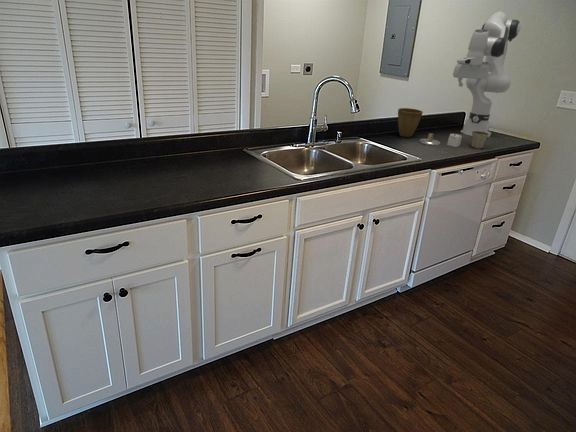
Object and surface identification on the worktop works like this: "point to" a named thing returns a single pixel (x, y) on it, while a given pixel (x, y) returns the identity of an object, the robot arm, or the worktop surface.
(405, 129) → the plant pot
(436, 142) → the pot lid
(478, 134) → the flower pot
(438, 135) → the worktop surface
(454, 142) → the knob
